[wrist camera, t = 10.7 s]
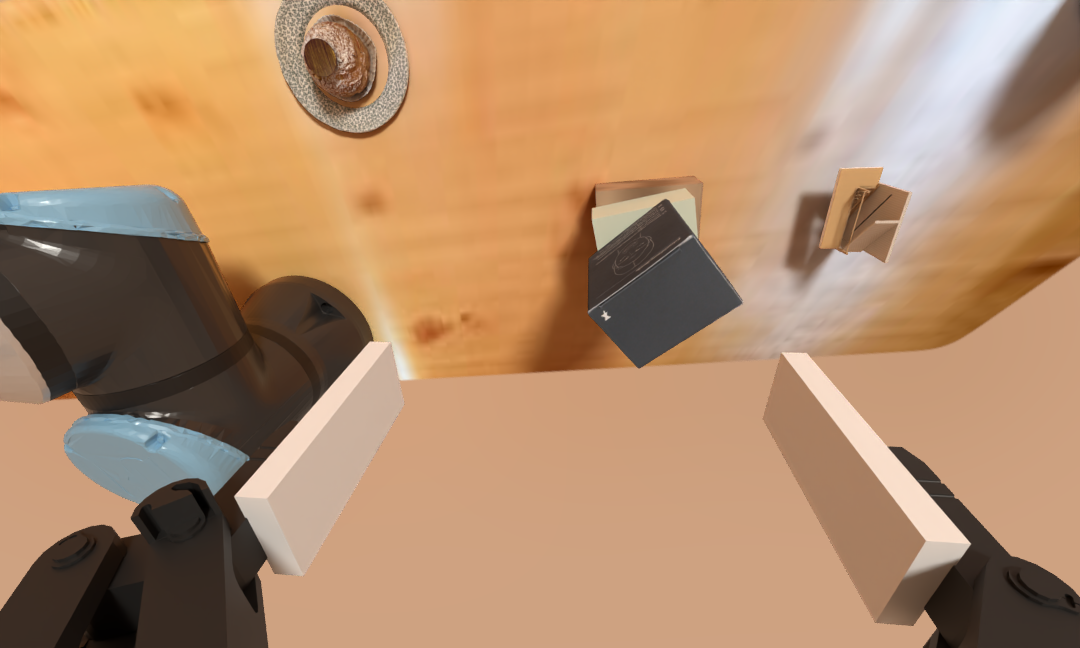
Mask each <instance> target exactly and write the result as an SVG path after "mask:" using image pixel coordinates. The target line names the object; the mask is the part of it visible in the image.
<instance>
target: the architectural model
mask: <svg viewBox="0 0 1080 648" xmlns="http://www.w3.org/2000/svg"><path fill="white" fill-rule="evenodd" d="M882 171H883V167H863V168H839V172H838V176H837V179H836V183H835V187H834V191H833V194H832V198H831V202H830V206H829V209H828V213H827V217H826V221H825V224H824V228H823V232H822V236H821V239H820V243H819V248H820V249H826V248H835V249H837V250H838V251H840V252H843V253H844V254H846V255H848V253H847V252H861V251H862V250H864V251H865V252H867V253H869V254H870V255H872V256H874V257H876V258H877V259H879V260H881V261H882V262H884V263H888V260H889V257H890V255H891V252H892V249H893V246H894V243H895V240H896V237H897V235H898V232H899V229H900V226H901V223H902V220H903V218H904V215H905V212H906V209H907V206H908V203H909V201H910V198H911V195H912V192H909V191H906V190H903V189H899V188H896V187H893V186H890V185H886V184H883V183H880V182H879V180H880V177H881V174H882Z"/></svg>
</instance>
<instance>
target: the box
mask: <svg viewBox="0 0 1080 648" xmlns="http://www.w3.org/2000/svg"><path fill="white" fill-rule="evenodd" d="M588 266H589V267H588V268H589V270H588V315H589V316H590V317H591V318H592V319H593V320H594V321H595V322H596V323H597V324H598V325H599V327H600V328H601V329H602V330H603V331H604V332H605V333H606V334H607V335H608V336H609V337H610V338H611V340H612V341H613V342H614V343H615V344H616V345H617V346H618V347H619V348H620V349H621V350H622V352H623V353H624V354H625V355H626V356H627V357H628V358H629V359H630V360H631V361H632V362H633V363H634V364H635V365H636V366H637V368H641V367H643V366H644V365H646V364H647V363H649V362H651V361H652V360H654V359H655V358H657V357H658V356H660V355H662V354H663V353H665V352H666V351H668V350H670V349H671V348H673V347H674V346H676V345H678V344H679V343H681V342H682V341H684V340H686V339H687V338H689V337H690V336H692V335H694V334H695V333H697V332H698V331H700V330H701V329H703V328H705V327H706V326H708V325H709V324H711V323H713V322H714V321H716V320H717V319H719V318H721V317H722V316H724V315H725V314H727V313H729V312H730V311H732V310H734V309H735V308H737V307H738V306H740V305H742V304H743V301H742V299H741V298H740V296H739V295H738V293H737V292H736V290H735V289H734V287H733V286H732V284H731V283H730V282H729V280H728V279H727V278H726V276H725V275H724V273H723V272H722V271H721V269H720V268H719V267H718V265H717V264H716V262H715V261H714V260H713V258H712V257H711V256H710V254H709V253H708V252H707V250H706V249H705V248H704V246H703V245H702V244H701V242H700V241H699V240H698V238H697V237H696V235H695V234H694V233H693V231H692V230H691V229H690V228H689V226H688V225H687V224H686V222H685V221H684V220H683V218H682V217H681V216H680V214H679V213H678V212H677V210H676V209H675V208H674V207H673V205H672V204H671V203H670V201H669V200H667V199H664V200H662V201H661V202H660V203H658V204H657V205H656V206H654V207H653V208H652V209H651V210H649V211H648V212H647V213H646V214H644V215H643V216H642V217H640V218H639V219H638V220H636V221H635V222H634V223H633V224H631V225H630V226H629V227H628V228H626V229H625V230H624V231H623V232H621V233H620V234H619V235H617V236H616V237H615V238H614V239H612V240H611V241H610V242H609V243H607V244H606V245H605V246H604V247H602V248H601V249H600V250H598V251H597V252H596V253H595V254H593V255H592V256H591V257H590V258H589V265H588Z"/></svg>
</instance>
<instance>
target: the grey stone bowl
mask: <svg viewBox="0 0 1080 648" xmlns="http://www.w3.org/2000/svg"><path fill="white" fill-rule="evenodd" d="M330 5H344V6H348V7H351V8H353V9H356V10H357V11H359V12H361V13H362V14H363V15H364V16H365V17H367V19H369V20H370V21H371V22H372V24H373V25H374V26H375V27H376V29H377V30H378V32H379V34H380V36H381V38H382V40H383V42H384V45H385V47H386V51H387V56H388V64H389V72H388V79H387V83H386V86H385V88H384V91H383V92H382V94H381V95H380V96H379V98H378V99H377V100H376V101H375V102H373V103H372V104H370V105H368V106H365V107H362V108H349V107H344V106H342V105H339V104H337V103H335V102H333V101H332V100H330V99H329V98H328V97H327V96H326V95H324V93H323V92H322V91H321V90H320V89H319V88H318V87H317V85H319V86H320V87H321V88H323V89H324V90H325V91H327V92H328V93H330V94H331V95H332V96H334V97H337V98H339V99H341V100H344V101H349V102H352V101H358V100H359V99H360V98H362V97H364V96H366V94H368V92H369V90H370V89H371V87H372V82H373V81H374V77H375V71H376V47H375V45H374V43H373V41H372V40H371V38H370V37H369V36H368V35H367V33H366V32H365V31H364V30H363V29H362V28H360V27H359V26H358V25H356V24H354V23H353V22H352V21H350V20H348V19H344V18H341V17H340V16H337V15H325V16H323V17H321V18H320V19H318V21H317V23H315V24H314V25H313V26H312V27H311V29H310V30H309V31H308V33H307V35H306V36H305V39H304V34H305V31H306V27H307V25H308V23H309V21H310V19H311V18H312V17H313V16H314V15H315V13H316V12H317V11H319V10H320V9H322V8H324V7H326V6H330ZM303 42H304V43H303ZM275 47H276V52H277V56H278V60H279V63H280V66H281V70H282V73H283V76H284V78H285V80H286V82H287V83H288V85H289V86H290V88H291V90H292V92H293V94H294V95H295V97H296V98H297V100H298V101H299V102H300V103H301V104H302V106H303V107H304V108H305V109H306V110H307V111H308V112H309V113H311V114H312V115H313V116H314V117H315V118H317V119H318V120H320V121H321V122H323V123H325V124H327V125H329V126H331V127H333V128H335V129H338V130H341V131H346V132H351V133H364V132H369V131H373V130H375V129H377V128H379V127H381V126H382V125H384V124H385V123H386V122H388V121H389V120H390V119H391V118H392V117H393V116H394V115H395V113H396V112H397V110H398V109H399V107H400V105H401V104H402V102H403V99H404V97H405V94H406V90H407V86H408V79H409V61H408V54H407V49H406V44H405V41H404V38H403V35H402V32H401V30H400V27H399V25H398V23H397V21H396V19H395V18H394V16H393V14H392V13H391V11H390V9H389V8H388V6H387V5H386V4H385V3H384V1H383V0H282V2H281V6H280V8H279V11H278V13H277V17H276V21H275ZM313 80H314V81H315V82H316V83H317V85H316V84H315V82H314V81H313ZM355 93H356V94H355Z"/></svg>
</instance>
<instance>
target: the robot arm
mask: <svg viewBox="0 0 1080 648" xmlns="http://www.w3.org/2000/svg"><path fill="white" fill-rule="evenodd" d="M208 242H209V239H208V238H207V237H206V236H205V235H203V234H202V232H201V231H200V229H199V227H198V225H197V224H196V222H195V220H194V218H193V216H192V214H191V213H190V211H189V209H188V207H187V205H186V204H185V202H184V201H183V200H182V198H181V197H179V196H178V195H177V194H176V193H174V192H173V191H171V190H169V189H167V188H164V187H161V186H157V185H132V186H114V187H97V188H79V189H63V190H44V191H27V192H10V193H0V401H10V402H22V403H32V404H43V403H45V402H48V401H51V400H53V399H55V398H57V397H60V396H62V395H64V394H66V393H68V392H71V391H72V392H73V393H74V394H75V396H76V397H77V398H78V400H79V401H80V402H81V404H82V405H83V406H84V407H85V409H86V411H87V412H88V415H87V416H85V417H81V418H79V419H78V420H76V421H75V422H74V423H73V424H72V427H71V428H70V429H69V430H68V431H67V432H66V434H65V435H64V443H65V445H64V449H65V453H66V454H67V456H68V458H69V459H70V460H71V462H72V463H73V464H74V465H75V466H76V467H77V468H78V469H79V470H80V471H81V472H82V473H83V474H85V475H86V476H87V477H89V478H90V479H91V480H93V481H94V482H95V483H97V484H99V485H100V486H102V487H103V488H105V489H107V490H109V491H111V492H113V493H115V494H117V495H119V496H121V497H123V498H125V499H128V500H130V501H133V502H136V503H138V504H139V505H138V506H137V507H136V508H135V510H134V512H133V514H132V516H131V520H132V521H133V523H134V524H135V525H136V527H137V528H138V530H139V531H140V532H141V534H139V535H135V536H130V537H125V538H120V537H119V536H118V534H117V533H116V532H115V530H113V528H112V527H110V526H106V525H98V526H91V527H88V528H85V529H82V530H80V531H77V532H74V533H72V534H71V535H69V536H67V537H65V538H63V539H61V540H60V541H58V542H57V543H55V544H54V545H53V546H51V547H50V548H49V549H47V550H46V551H45V552H44V553H43V554H42V555H41V556H40V557H39V558H38V559H37V560H36V561H35V562H34V564H33V565H32V566H31V568H30V569H29V571H28V572H27V574H26V575H25V577H24V578H23V579H22V581H21V582H20V584H19V585H18V587H17V588H16V589H15V591H14V592H13V594H12V596H11V597H10V598H9V599H8V601H7V602H6V604H5V605H4V607H3V608H2V609H1V611H0V648H268V641H267V632H266V624H265V614H264V607H263V597H262V589H261V581H260V579H259V577H258V574H257V572H258V571H259V569H260V568H261V567H262V565H263V564H264V562H265V560H266V559H267V560H268V562H269V564H270V566H271V568H272V570H273V572H274V573H275V574H285V575H297V576H304V575H305V573H306V571H307V570H308V568H309V566H310V565H311V563H312V561H313V559H314V558H315V556H316V554H317V553H318V551H319V549H320V547H321V546H322V544H323V542H324V541H325V539H326V537H327V535H328V534H329V532H330V530H331V529H332V527H333V525H334V524H335V522H336V520H337V518H338V517H339V515H340V513H341V511H342V510H343V508H344V507H345V505H346V503H347V501H348V500H349V498H350V496H351V495H352V493H353V491H354V489H355V488H356V486H357V484H358V482H359V481H360V479H361V478H362V475H363V474H364V472H365V471H366V469H367V467H368V466H369V464H370V462H371V460H372V459H373V457H374V455H375V454H376V452H377V450H378V448H379V447H380V445H381V443H382V442H383V440H384V438H385V437H386V435H387V433H388V431H389V430H390V428H391V426H392V425H393V423H394V421H395V420H396V418H397V416H398V414H399V413H400V411H401V409H402V408H403V406H404V400H403V396H402V391H401V386H400V382H399V377H398V373H397V368H396V364H395V359H394V355H393V350H392V345H391V342H373V337H372V333H371V330H370V327H369V325H368V323H367V321H366V319H365V317H364V316H363V314H362V313H361V311H360V310H359V309H358V308H357V306H356V305H355V304H354V303H353V302H352V301H351V300H350V299H349V298H348V297H347V296H345V295H344V294H343V293H341V292H340V291H339V290H337V289H336V288H334V287H332V286H330V285H328V284H326V283H324V282H322V281H319V280H316V279H313V278H309V277H304V276H285V277H281V278H278V279H275V280H273V281H271V282H269V283H268V284H266V285H264V286H262V287H261V288H259V289H258V290H256V291H255V292H254V293H253V294H252V295H251V296H250V297H249V298H248V299H247V301H246V303H245V304H244V306H243V308H242V309H241V310H239V308H238V306H237V304H236V302H235V300H234V298H233V296H232V293H231V291H230V289H229V287H228V285H227V283H226V281H225V279H224V276H223V274H222V272H221V270H220V268H219V266H218V264H217V262H216V260H215V257H214V255H213V253H212V251H211V249H210V247H209V245H208ZM763 420H764V422H765V424H766V426H767V428H768V429H769V431H770V433H771V435H772V437H773V438H774V440H775V442H776V444H777V446H778V447H779V449H780V451H781V453H782V455H783V456H784V458H785V460H786V462H787V464H788V466H789V467H790V469H791V471H792V473H793V475H794V477H795V478H796V480H797V482H798V484H799V485H800V487H801V489H802V491H803V493H804V495H805V497H806V498H807V500H808V502H809V504H810V506H811V507H812V509H813V511H814V513H815V515H816V516H817V518H818V520H819V522H820V524H821V525H822V527H823V529H824V531H825V533H826V535H827V536H828V538H829V540H830V542H831V544H832V546H833V547H834V549H835V551H836V553H837V555H838V556H839V558H840V560H841V562H842V563H843V565H844V567H845V569H846V571H847V573H848V575H849V576H850V578H851V580H852V582H853V583H854V585H855V587H856V589H857V591H858V593H859V595H860V596H861V598H862V600H863V602H864V604H865V605H866V607H867V609H868V611H869V612H870V614H871V616H872V618H873V620H874V622H875V623H884V624H896V625H908V626H913V625H914V624H915V623H916V621H917V620H918V618H919V617H920V615H921V614H922V612H923V611H924V610H926V612H927V613H928V615H929V616H930V618H931V619H932V621H933V622H934V624H935V625H936V627H937V629H936V631H935V632H934V633H933V634H932V636H931V637H930V639H929V640H928V641H927V642H926V644H925V645H924V646H923V648H1080V597H1079V596H1078V595H1077V594H1076V592H1075V591H1074V590H1073V589H1072V588H1071V587H1069V586H1068V585H1067V584H1066V583H1064V582H1063V581H1062V580H1061V579H1059V578H1057V576H1055V575H1054V574H1052V573H1050V572H1048V571H1047V570H1045V569H1043V568H1041V567H1040V566H1038V565H1036V564H1034V563H1031V562H1028V561H1026V560H1023V559H1020V558H1018V557H1012V556H1010V555H1009V554H1008V552H1007V551H1006V550H1005V549H1004V548H1003V547H1002V546H1001V545H1000V544H999V543H998V542H997V541H996V540H995V538H994V537H993V536H992V535H991V534H990V533H989V532H988V531H987V530H986V529H985V528H984V526H983V525H982V524H981V523H980V522H979V521H978V520H977V519H976V518H975V517H974V516H973V515H972V514H971V513H970V511H969V510H968V509H967V508H966V507H965V506H964V505H963V504H962V503H961V502H960V501H959V500H958V499H955V498H954V494H953V493H952V492H951V491H950V490H949V489H948V488H947V487H946V485H945V484H941V482H940V479H939V478H938V477H937V476H936V475H935V474H934V473H933V471H932V470H931V469H930V468H929V467H928V466H927V465H926V464H925V463H924V462H922V461H921V460H920V459H918V458H917V457H915V456H914V455H912V454H911V453H910V452H908V451H907V450H905V449H904V448H902V447H887V446H886V445H885V444H884V442H883V441H882V440H881V439H880V438H879V437H878V436H877V434H876V433H875V432H874V431H873V430H872V429H871V427H870V426H869V425H868V424H867V423H866V422H865V420H864V419H863V418H862V417H861V416H860V415H859V413H858V412H857V411H856V410H855V409H854V408H853V407H852V406H851V404H850V403H849V402H848V401H847V400H846V398H845V397H844V396H843V395H842V394H841V393H840V391H839V390H838V389H837V388H836V387H835V386H834V384H833V383H832V382H831V381H830V380H829V379H828V378H827V377H826V375H825V374H824V373H823V372H822V371H821V370H820V368H819V367H818V366H817V365H816V364H815V362H814V361H813V360H812V359H811V358H810V357H809V355H808V354H807V353H782V352H781V356H780V360H779V363H778V367H777V370H776V374H775V377H774V381H773V384H772V388H771V391H770V395H769V398H768V402H767V405H766V409H765V413H764V416H763Z"/></svg>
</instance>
